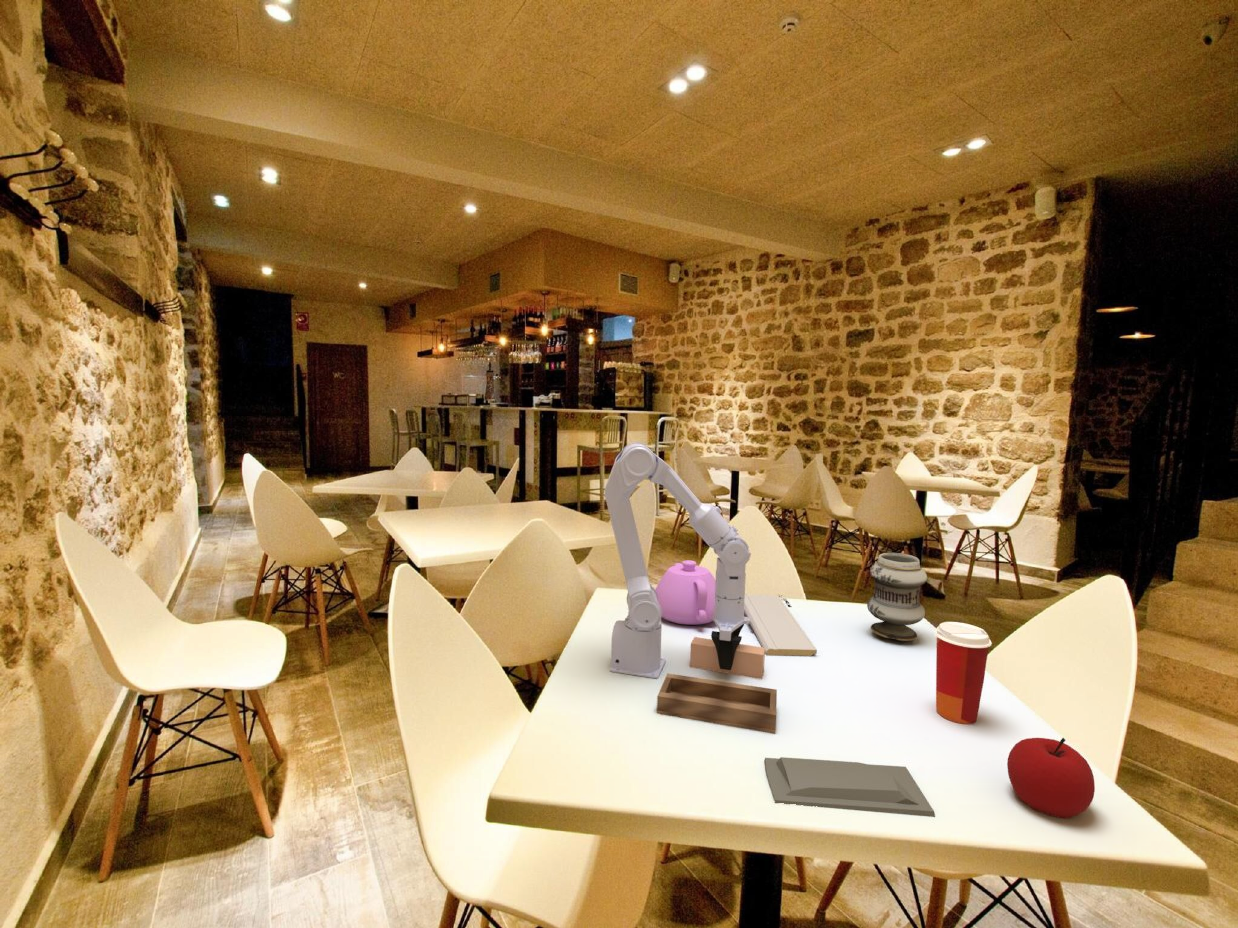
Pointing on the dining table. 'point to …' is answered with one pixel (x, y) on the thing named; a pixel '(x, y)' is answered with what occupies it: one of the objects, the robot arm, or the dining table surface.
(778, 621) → the baseboard
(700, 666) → the clay block
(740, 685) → the tray
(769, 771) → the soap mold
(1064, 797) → the apple
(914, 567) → the apothecary jar
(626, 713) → the dining table surface
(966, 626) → the coffee cup
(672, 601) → the teapot
